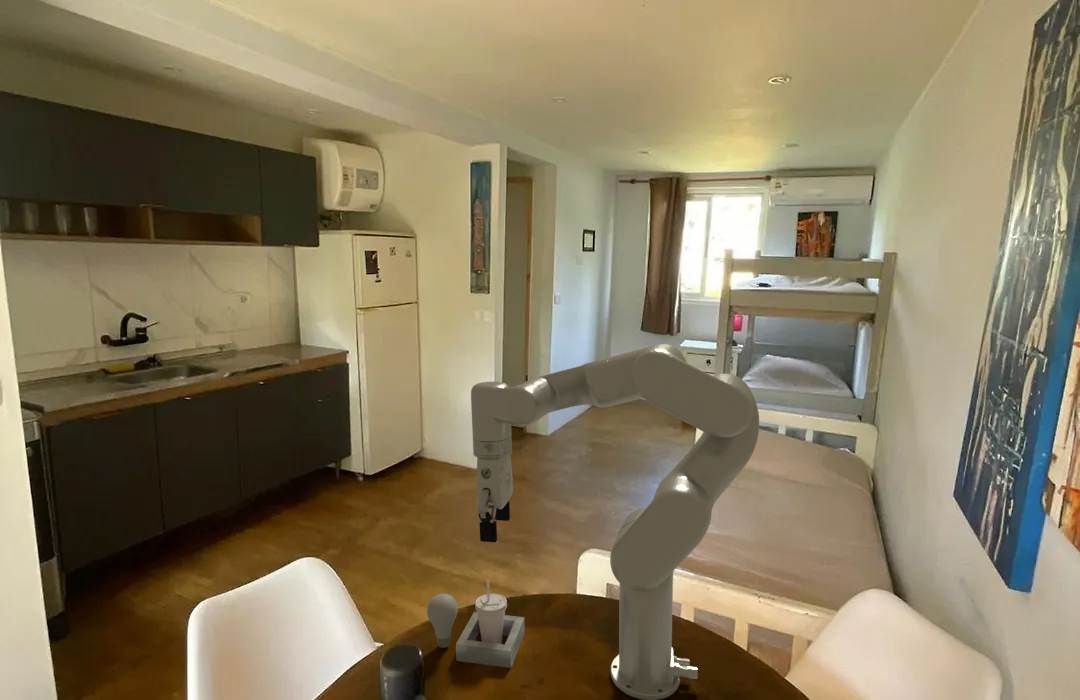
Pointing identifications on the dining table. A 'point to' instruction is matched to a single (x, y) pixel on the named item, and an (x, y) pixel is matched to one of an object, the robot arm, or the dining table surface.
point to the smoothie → (491, 616)
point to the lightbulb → (442, 617)
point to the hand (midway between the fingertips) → (495, 530)
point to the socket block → (490, 651)
